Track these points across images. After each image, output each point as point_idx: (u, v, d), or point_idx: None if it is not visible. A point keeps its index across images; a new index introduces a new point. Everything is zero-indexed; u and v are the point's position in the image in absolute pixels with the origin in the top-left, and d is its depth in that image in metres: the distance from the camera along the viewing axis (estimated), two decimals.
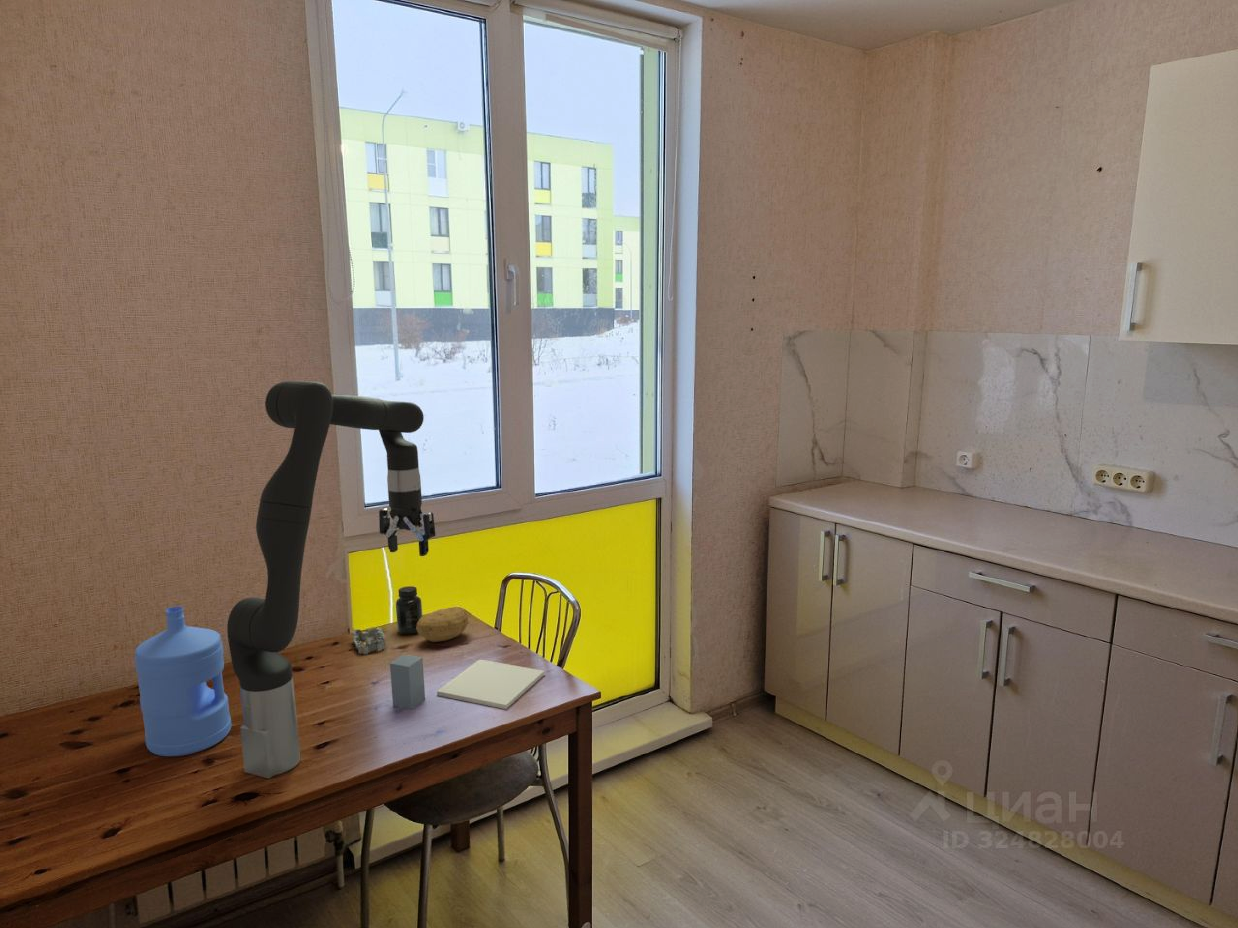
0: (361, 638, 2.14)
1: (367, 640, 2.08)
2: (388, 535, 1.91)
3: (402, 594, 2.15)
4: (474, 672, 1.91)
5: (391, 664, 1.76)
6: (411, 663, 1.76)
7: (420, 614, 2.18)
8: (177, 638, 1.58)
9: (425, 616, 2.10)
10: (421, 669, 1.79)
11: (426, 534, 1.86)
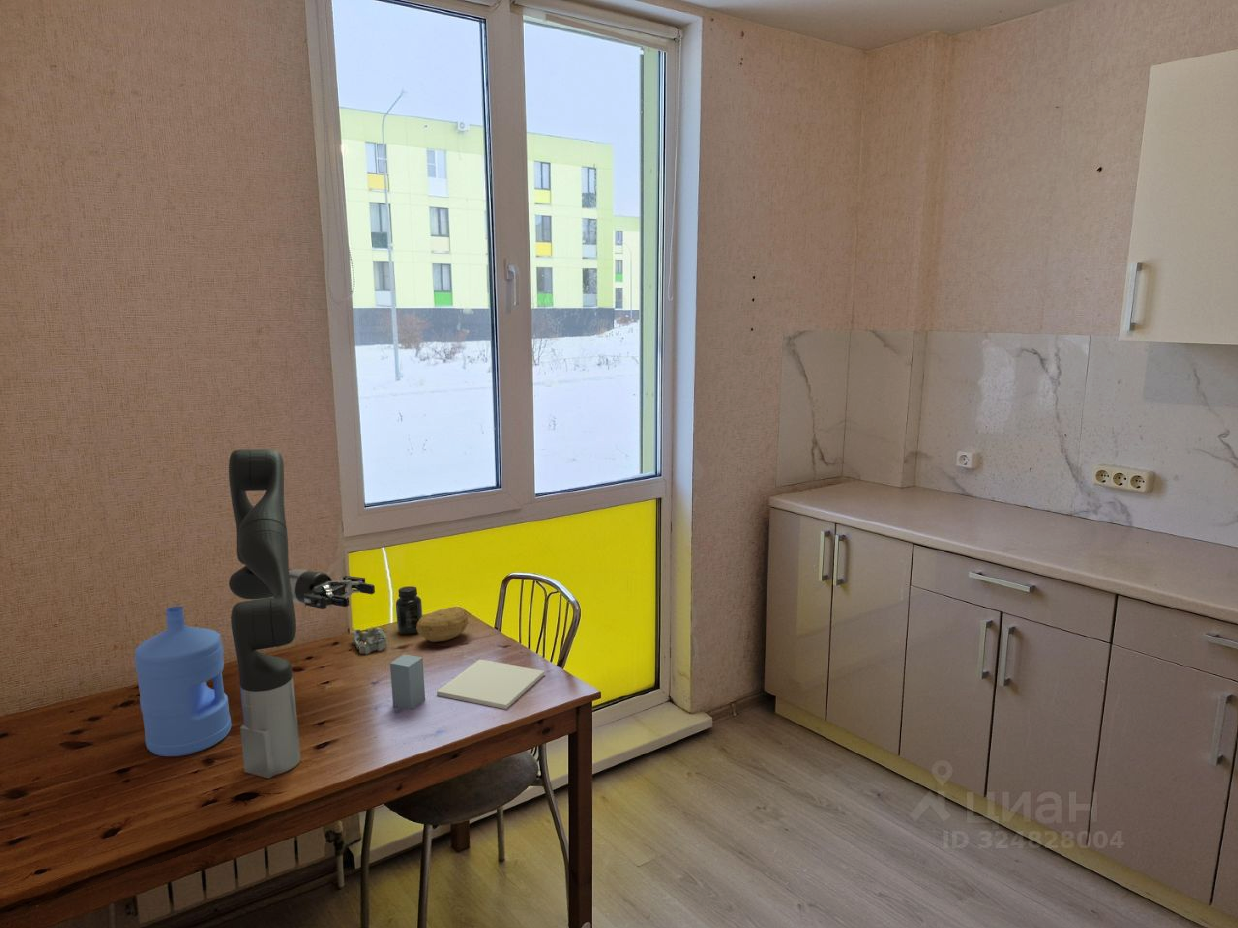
0: (361, 638, 2.14)
1: (368, 640, 2.08)
2: (331, 594, 1.78)
3: (402, 594, 2.15)
4: (474, 672, 1.91)
5: (391, 664, 1.76)
6: (411, 663, 1.76)
7: (420, 614, 2.18)
8: (177, 638, 1.58)
9: (425, 616, 2.10)
10: (421, 669, 1.79)
11: (360, 578, 1.88)
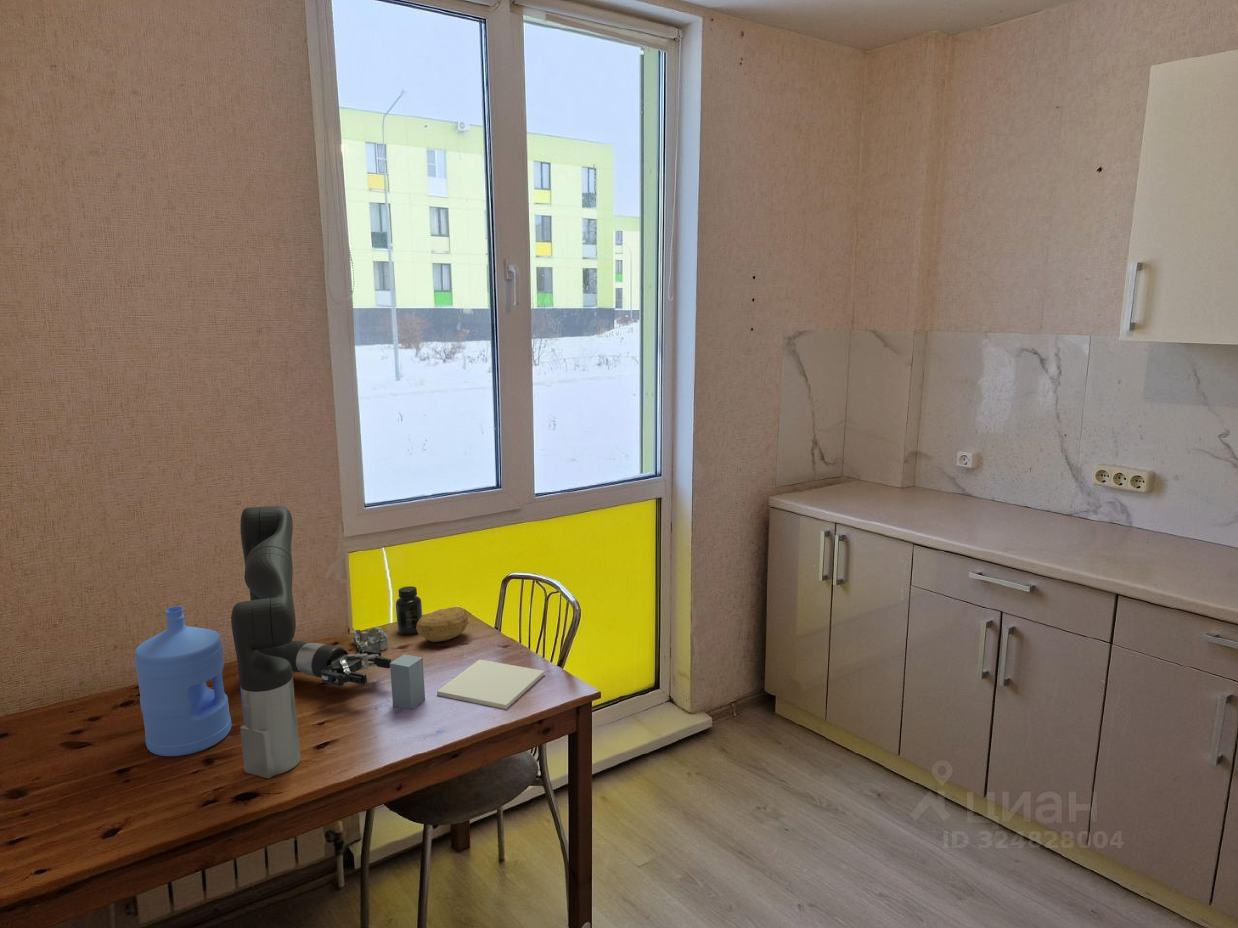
0: (361, 638, 2.13)
1: (369, 639, 2.08)
2: (348, 671, 1.78)
3: (402, 594, 2.15)
4: (474, 672, 1.91)
5: (391, 664, 1.76)
6: (411, 663, 1.76)
7: (420, 614, 2.18)
8: (177, 638, 1.58)
9: (425, 616, 2.10)
10: (421, 669, 1.79)
11: (376, 651, 1.89)
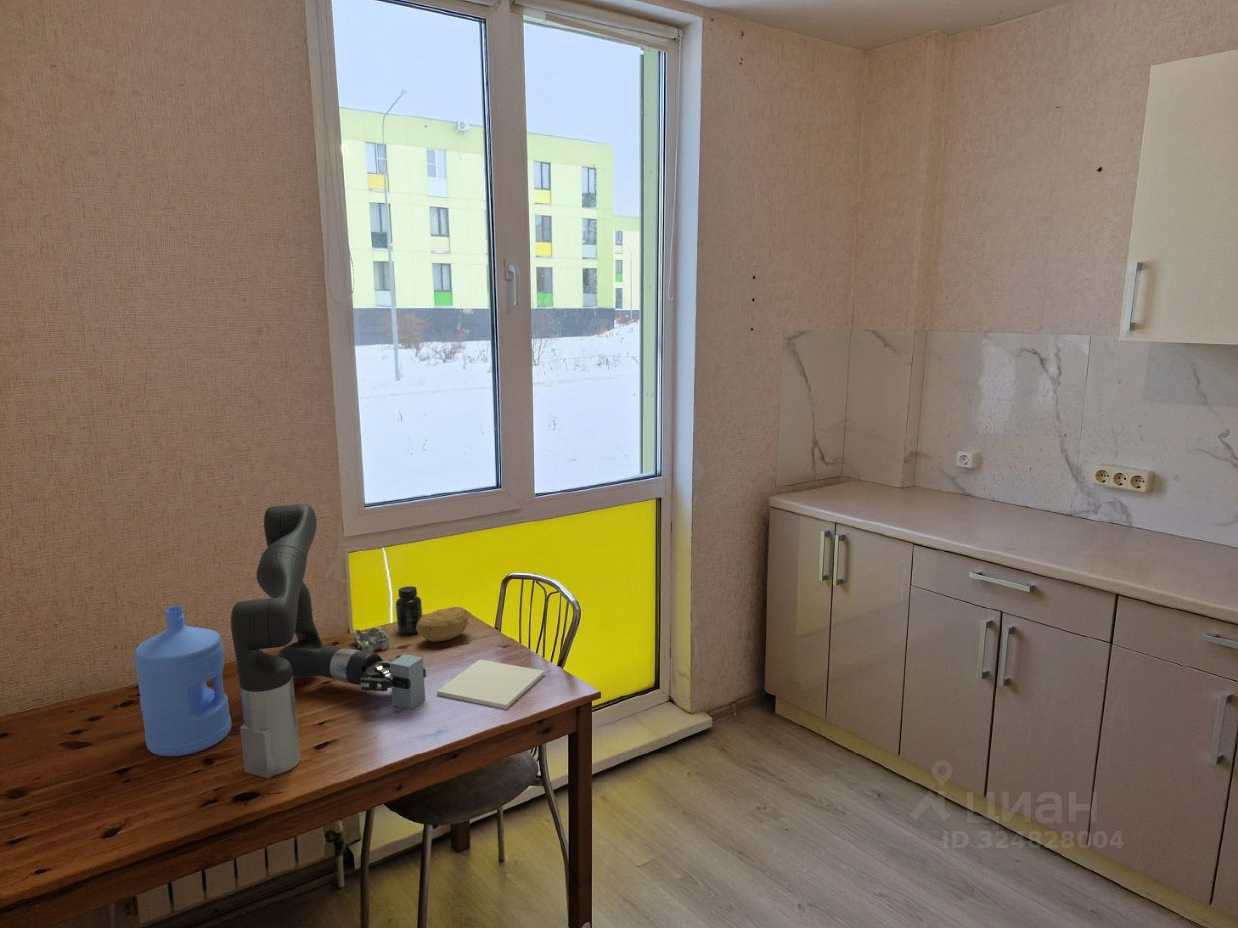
0: (361, 638, 2.13)
1: (370, 639, 2.08)
2: (392, 676, 1.76)
3: (402, 594, 2.15)
4: (474, 672, 1.91)
5: (391, 664, 1.76)
6: (411, 663, 1.76)
7: (420, 614, 2.18)
8: (177, 638, 1.58)
9: (425, 616, 2.10)
10: (421, 669, 1.79)
11: None
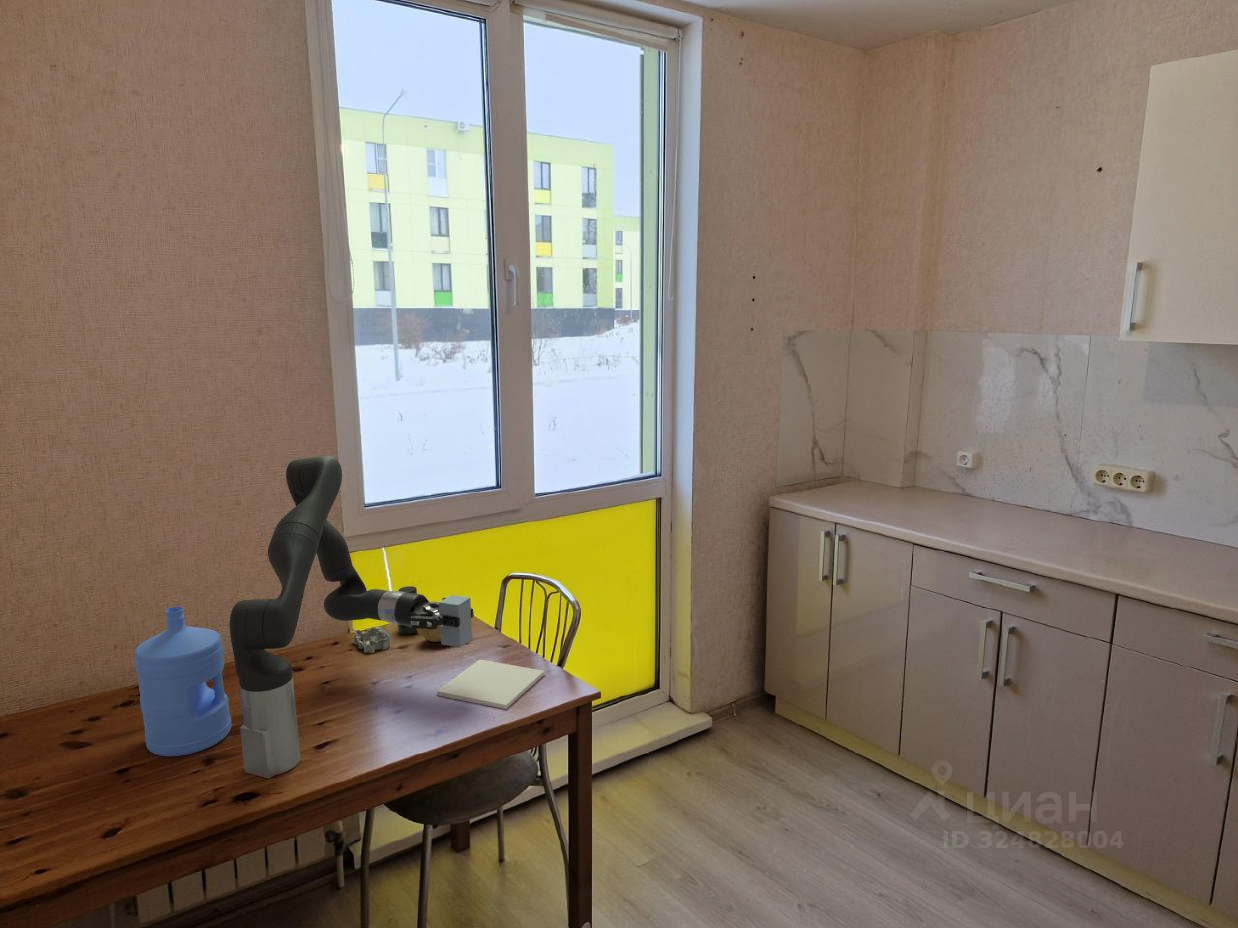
0: (361, 638, 2.13)
1: (372, 639, 2.08)
2: (441, 614, 1.79)
3: None
4: (474, 672, 1.91)
5: (440, 603, 1.79)
6: (460, 602, 1.79)
7: None
8: (177, 638, 1.58)
9: None
10: (469, 609, 1.82)
11: None
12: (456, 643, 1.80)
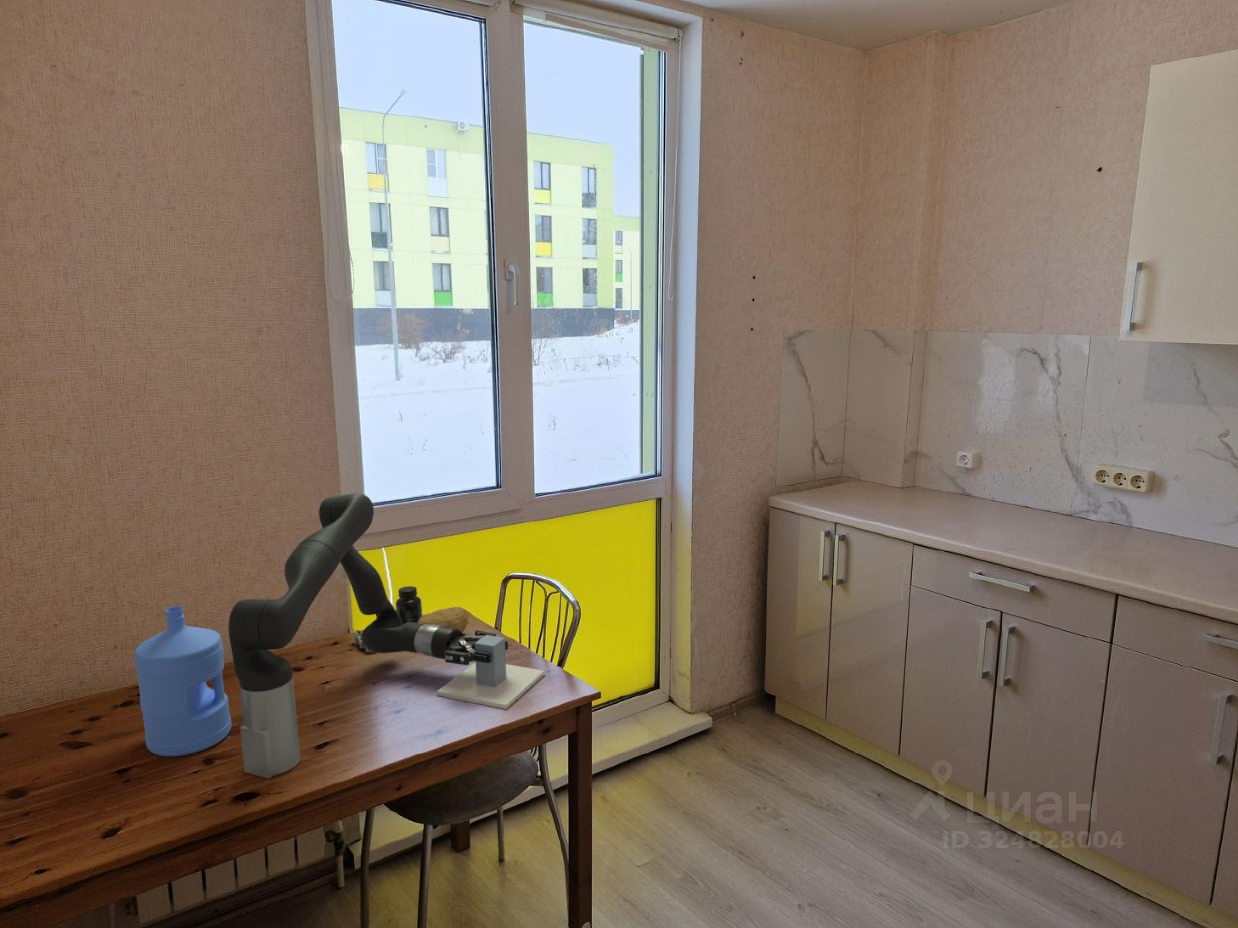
0: None
1: None
2: (473, 650, 1.82)
3: (402, 594, 2.15)
4: (474, 672, 1.91)
5: (476, 644, 1.84)
6: (495, 643, 1.84)
7: (420, 614, 2.18)
8: (177, 638, 1.58)
9: (425, 616, 2.10)
10: (503, 649, 1.86)
11: (491, 634, 1.92)
12: (491, 683, 1.84)
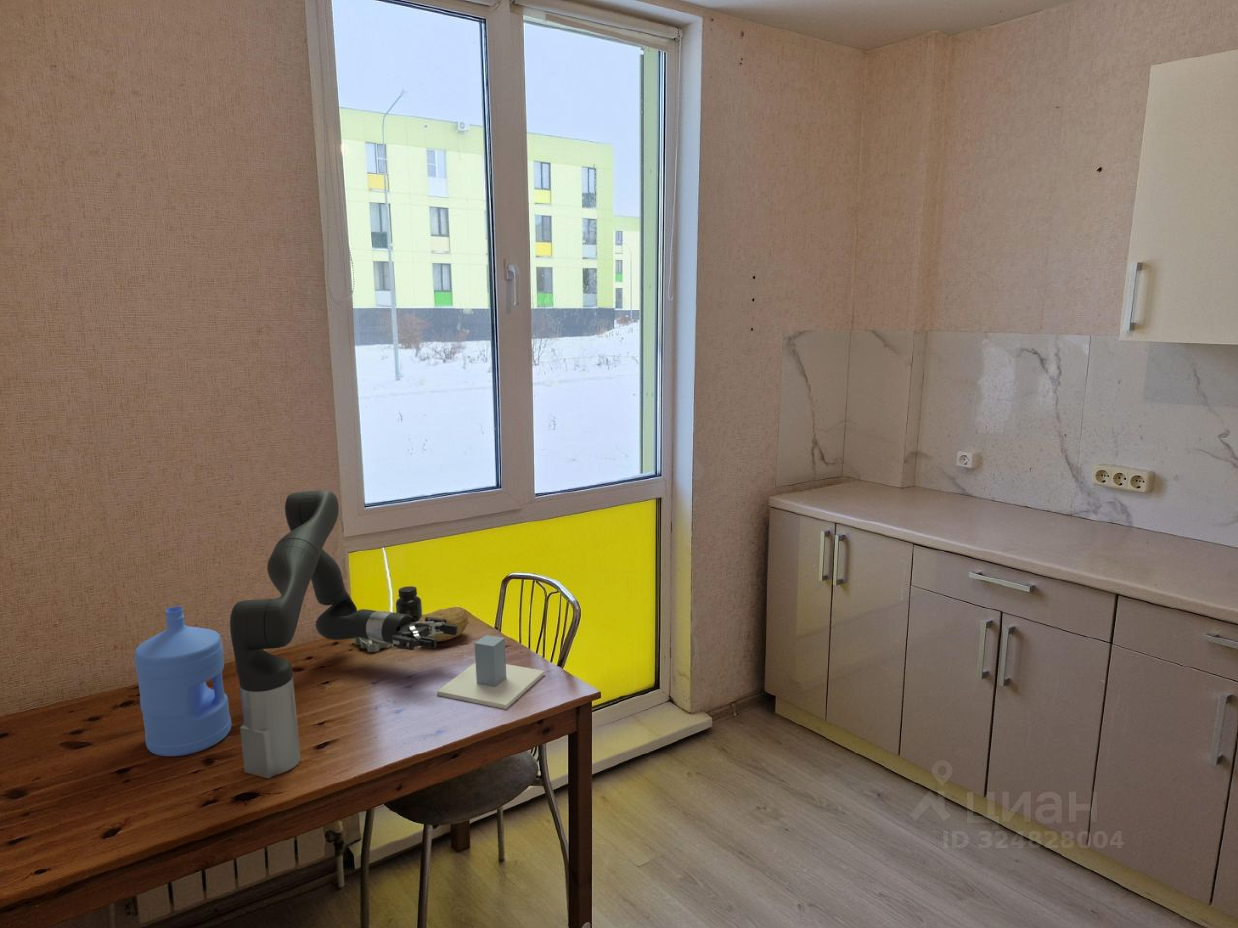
0: None
1: None
2: (419, 636, 1.86)
3: (402, 594, 2.15)
4: (474, 672, 1.91)
5: (476, 644, 1.84)
6: (495, 643, 1.84)
7: (420, 614, 2.18)
8: (177, 638, 1.58)
9: (425, 616, 2.10)
10: (503, 649, 1.86)
11: (441, 619, 1.97)
12: (491, 683, 1.84)
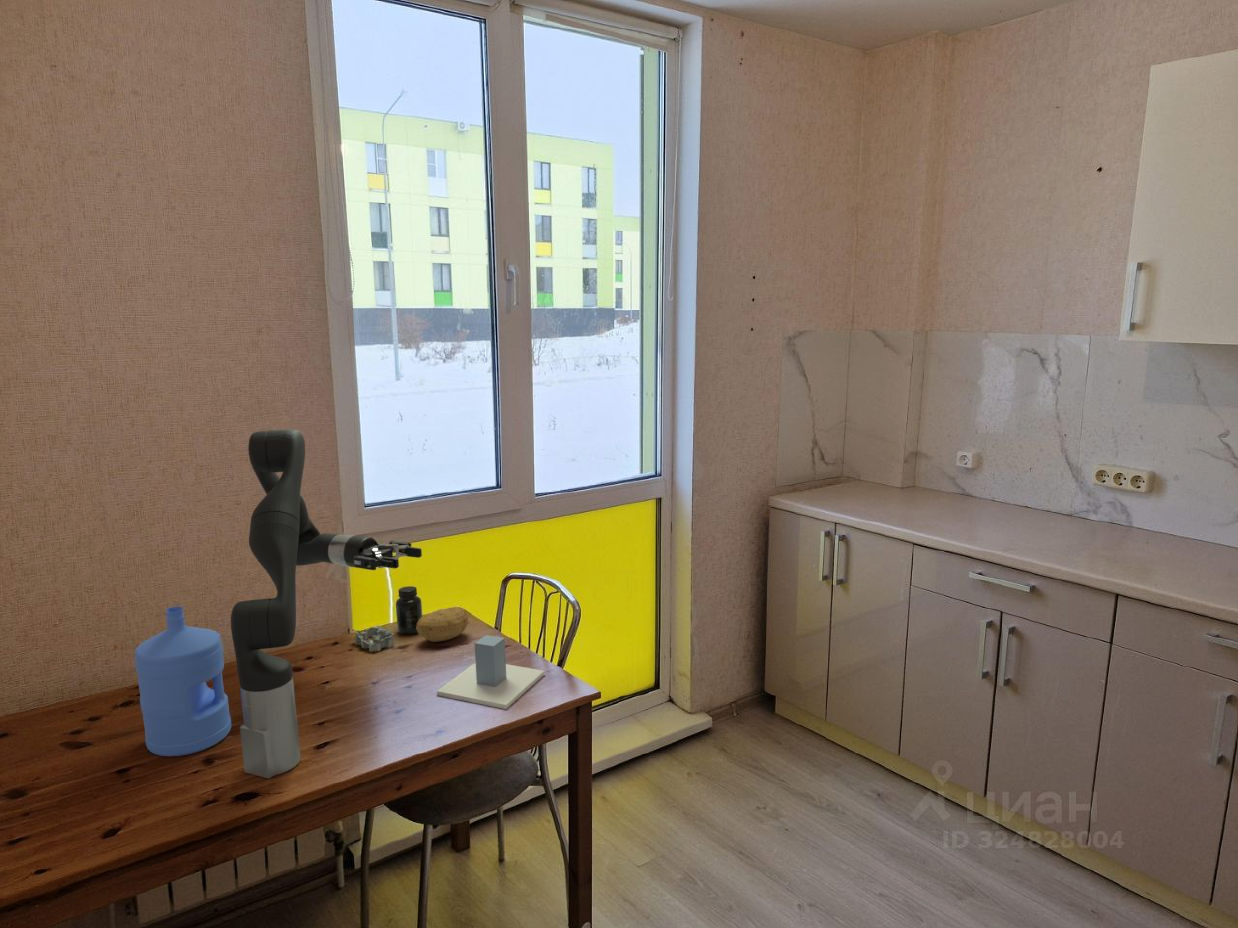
0: None
1: (375, 638, 2.09)
2: (381, 556, 1.82)
3: (402, 594, 2.15)
4: (474, 672, 1.91)
5: (476, 644, 1.84)
6: (495, 643, 1.84)
7: (420, 614, 2.18)
8: (177, 638, 1.58)
9: (425, 616, 2.10)
10: (503, 649, 1.86)
11: (406, 543, 1.92)
12: (491, 683, 1.84)
